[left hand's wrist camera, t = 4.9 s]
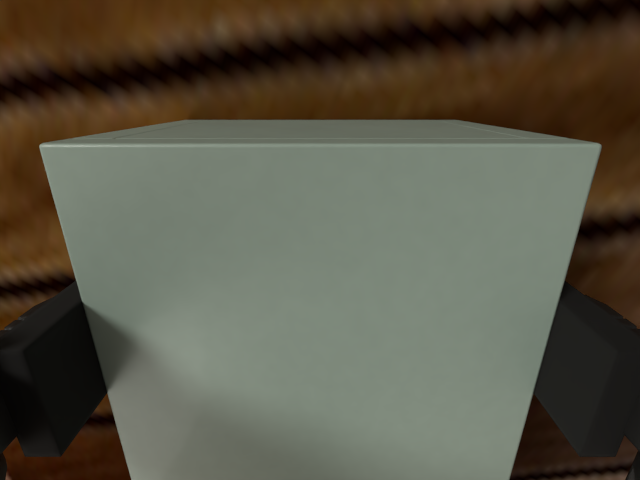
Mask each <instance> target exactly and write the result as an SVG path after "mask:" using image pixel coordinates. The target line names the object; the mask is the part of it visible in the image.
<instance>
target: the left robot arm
mask: <svg viewBox="0 0 640 480" xmlns="http://www.w3.org/2000/svg"><path fill="white" fill-rule="evenodd" d="M106 393H107V389H106V386H105V382H104V379H103V375H102V371H101V368H100V364H99V361H98V357H97V353H96V350H95V346H94V343H93V339H92V335H91V332H90V328H89V324H88V321H87V317H86V314H85V310H84V306H83V303H82V299H81V296H80V292H79V288H78V285H77V281H75V282H73V283H72V284H71V285H69V286H68V287H67V288H65V289H64V290H63V291H61V292H60V293H59V294H57V295H56V296H55V297H53V298H51V299H48V300H46V301H44V302H42V303H40V304H38V305H36V306H34V307H32V308H31V309H30V310H28V311H27V312H26V313H24V314H23V315H21V316H20V317H19V318H18V320H15V321H13V322H12V323H10V324H9V325H8V326H6V327H5V329H4V330H1V331H0V480H5V477H6V471H7V464H6V459H5V457H4V455H3V451H4V450H5V448H6V447H7V446H8V445H9V444H10V443H11V442H12V441H13V440H14V438H15V437H16V436H17V438H18V440H19V443H20V445H21V448H22V450H23V453H24V455H25V457H61V456H62V454H63V453H64V452H65V450H66V449H67V447H68V446H69V445H70V443H71V442H72V440H73V439H74V438H75V436H76V435H77V434H78V432H79V431H80V429H81V428H82V427H83V425H84V424H85V423H86V421H87V420H88V418H89V417H90V416H91V414H92V413H93V411H94V410H95V409H96V407H97V406H98V405H99V403H100V402H101V400H102V399H103V398H104V396H105V395H106ZM534 394H535V396H536V397H537V398H538V400H539V401H540V403H541V404H542V405H543V407H544V408H545V409H546V411H547V412H548V414H549V415H550V416H551V418H552V419H553V421H554V422H555V423H556V425H557V426H558V427H559V429H560V430H561V432H562V433H563V434H564V436H565V437H566V438H567V440H568V441H569V443H570V444H571V445H572V447H573V448H574V450H575V451H576V452H577V454H578V455H579V456H580V457H615V456H616V454H617V451H618V449H619V447H620V444H621V442H622V439H623V437H624V435H625V436H626V437H627V438H628V439H629V440H630V441H631V442H632V444H633V445H634V446H635V447H636V448H637V449H638V452H637V455H636V457H635V459H634V461H633V464H632V466H631V468H630V470H629V473H628V475H627V477H626V479H625V480H640V329H637V328H636V326H635V325H634V324H633V323H631V322H630V321H628V320H627V319H623V316H621V315H620V314H619V313H617V312H616V311H615V310H613V309H612V308H610V307H609V306H608V305H606V304H604V303H602V302H599V301H597V300H595V299H593V298H591V297H589V296H587V295H583V294H582V293H580V292H579V291H578V290H576V289H575V288H574V287H572V286H571V285H570V284H568V283H567V282H566V281H564V285H563V288H562V292H561V296H560V299H559V303H558V306H557V310H556V314H555V317H554V321H553V324H552V328H551V332H550V335H549V339H548V342H547V346H546V350H545V353H544V357H543V360H542V364H541V368H540V371H539V375H538V378H537V382H536V386H535V389H534Z"/></svg>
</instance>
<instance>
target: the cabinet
mask: <svg viewBox="0 0 640 480" xmlns="http://www.w3.org/2000/svg"><path fill="white" fill-rule="evenodd" d="M601 148H602V147H601V145H600V144H598V143H594V142H588V141H582V140H576V139H569V138H564V137H558V136H552V135H546V134H539V133H533V132H527V131H521V130H515V129H509V128H503V127H496V126H490V125H484V124H478V123H472V122H466V121H459V120H182V121H176V122H170V123H163V124H157V125H151V126H145V127H139V128H133V129H126V130H120V131H114V132H108V133H102V134H96V135H89V136H83V137H77V138H73V139H65V140H59V141H53V142H47V143H42V144H41V145H40V151H41V155H42V158H43V162H44V166H45V169H46V173H47V176H48V180H49V184H50V187H51V191H52V194H53V198H54V202H55V205H56V209H57V213H58V216H59V220H60V223H61V227H62V231H63V234H64V238H65V241H66V245H67V249H68V252H69V256H70V259H71V263H72V267H73V270H74V274H75V278H76V281H77V285H78V288H79V292H80V296H81V299H82V303H83V306H84V310H85V314H86V317H87V321H88V324H89V328H90V332H91V335H92V339H93V343H94V346H95V350H96V353H97V357H98V361H99V364H100V368H101V371H102V375H103V379H104V382H105V386H106V389H107V393H108V397H109V400H110V404H111V408H112V411H113V415H114V418H115V422H116V426H117V429H118V433H119V436H120V440H121V444H122V447H123V451H124V454H125V458H126V462H127V465H128V469H129V473H130V476H131V480H509V479H510V476H511V472H512V468H513V465H514V461H515V458H516V454H517V450H518V447H519V443H520V440H521V436H522V432H523V429H524V425H525V422H526V418H527V414H528V411H529V407H530V404H531V400H532V396H533V393H534V389H535V386H536V382H537V378H538V375H539V371H540V368H541V364H542V360H543V357H544V353H545V350H546V346H547V342H548V339H549V335H550V332H551V328H552V324H553V321H554V317H555V314H556V310H557V306H558V303H559V299H560V296H561V292H562V288H563V285H564V281H565V278H566V274H567V270H568V267H569V263H570V260H571V256H572V252H573V249H574V245H575V242H576V238H577V234H578V231H579V227H580V224H581V220H582V216H583V213H584V209H585V206H586V202H587V198H588V195H589V191H590V188H591V184H592V180H593V177H594V173H595V170H596V166H597V162H598V159H599V155H600V152H601Z"/></svg>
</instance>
